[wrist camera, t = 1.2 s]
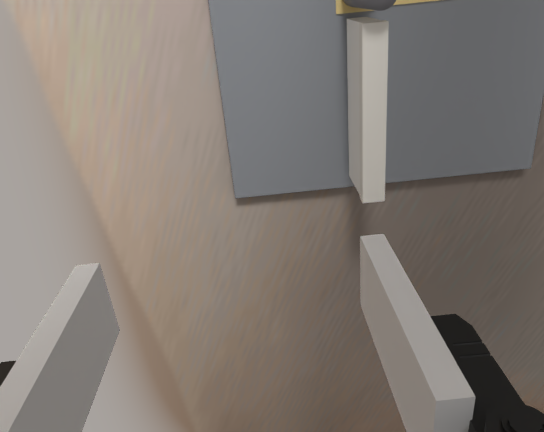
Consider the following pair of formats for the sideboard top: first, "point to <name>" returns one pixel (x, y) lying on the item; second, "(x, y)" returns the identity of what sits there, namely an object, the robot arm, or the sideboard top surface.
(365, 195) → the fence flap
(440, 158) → the card
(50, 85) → the sideboard top surface
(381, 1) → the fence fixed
